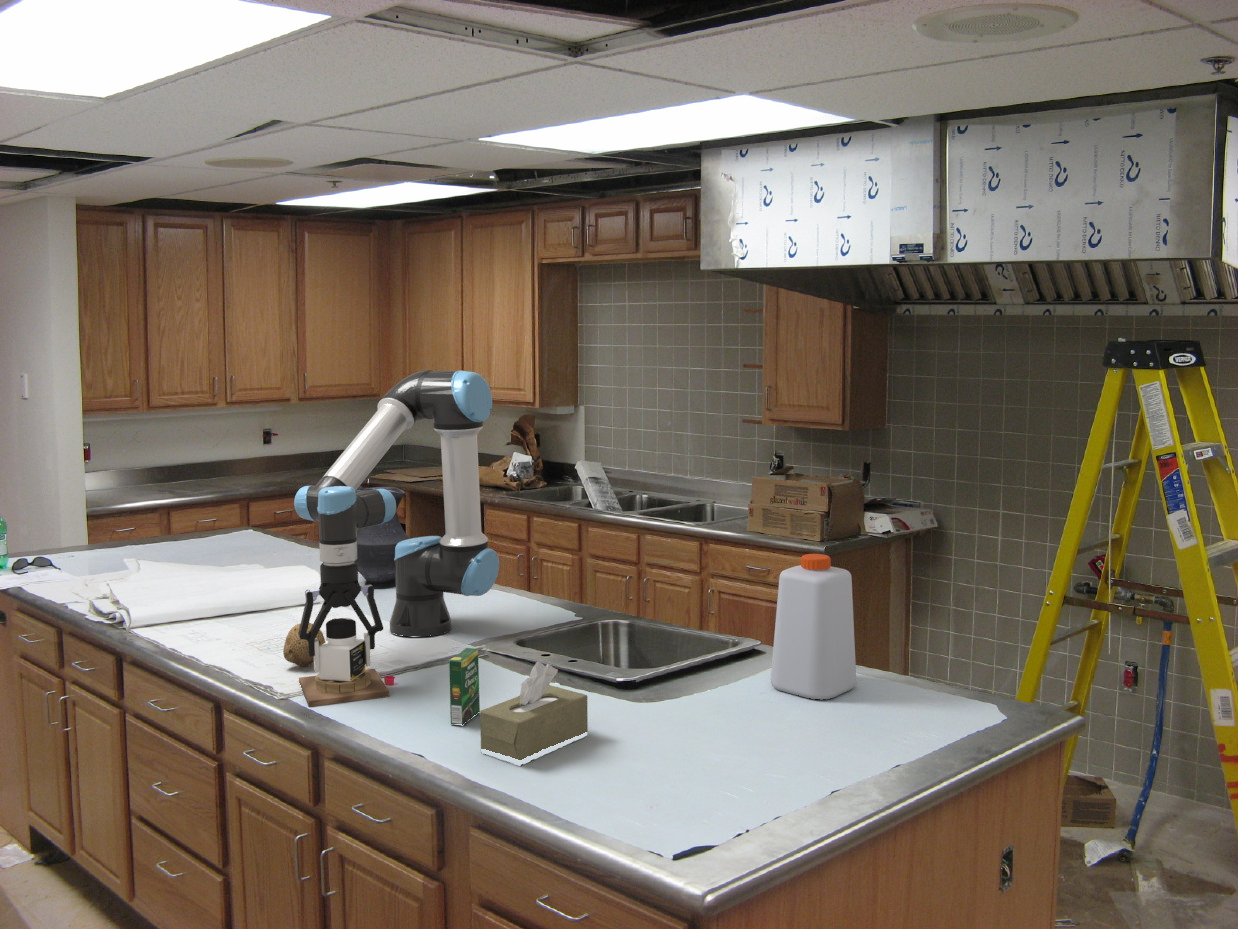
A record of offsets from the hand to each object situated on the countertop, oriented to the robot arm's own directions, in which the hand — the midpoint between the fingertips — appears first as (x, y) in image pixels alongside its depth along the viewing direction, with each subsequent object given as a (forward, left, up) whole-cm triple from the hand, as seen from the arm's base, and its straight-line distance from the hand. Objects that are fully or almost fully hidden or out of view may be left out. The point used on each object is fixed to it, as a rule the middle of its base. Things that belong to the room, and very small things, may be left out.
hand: (342, 667), depth 230 cm
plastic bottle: (-91, +37, -5) cm, 98 cm away
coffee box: (-19, +27, -5) cm, 33 cm away
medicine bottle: (0, 0, -2) cm, 2 cm away
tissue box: (-27, +44, -5) cm, 52 cm away
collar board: (0, 0, -5) cm, 5 cm away
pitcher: (-23, -91, -5) cm, 94 cm away
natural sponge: (+5, -19, -5) cm, 20 cm away
